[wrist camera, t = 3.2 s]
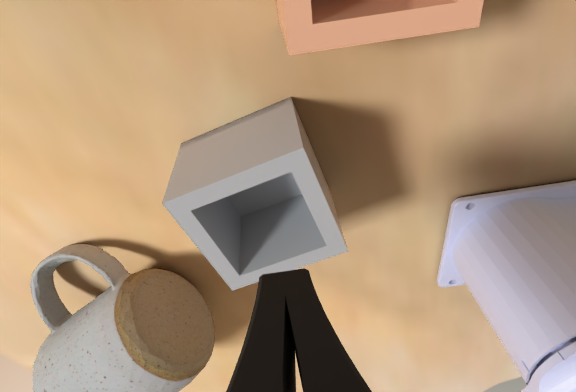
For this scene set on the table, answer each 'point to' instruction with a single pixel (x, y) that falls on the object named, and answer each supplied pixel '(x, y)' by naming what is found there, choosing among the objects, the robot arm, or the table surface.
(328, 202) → the slate pot
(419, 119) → the table surface
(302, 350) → the robot arm
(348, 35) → the terracotta pot
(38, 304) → the ceramic mug
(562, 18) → the table surface
